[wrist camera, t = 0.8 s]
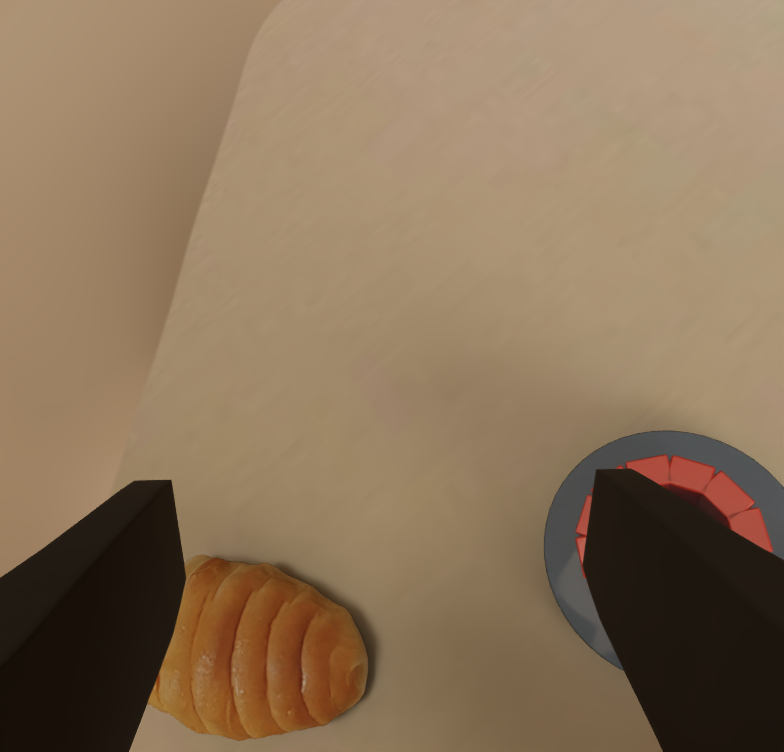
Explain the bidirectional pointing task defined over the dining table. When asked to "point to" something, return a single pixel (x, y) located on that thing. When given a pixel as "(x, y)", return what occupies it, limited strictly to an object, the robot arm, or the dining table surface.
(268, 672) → the pastry
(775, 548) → the ring stand
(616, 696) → the dining table surface
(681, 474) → the ring
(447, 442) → the dining table surface
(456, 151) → the dining table surface
